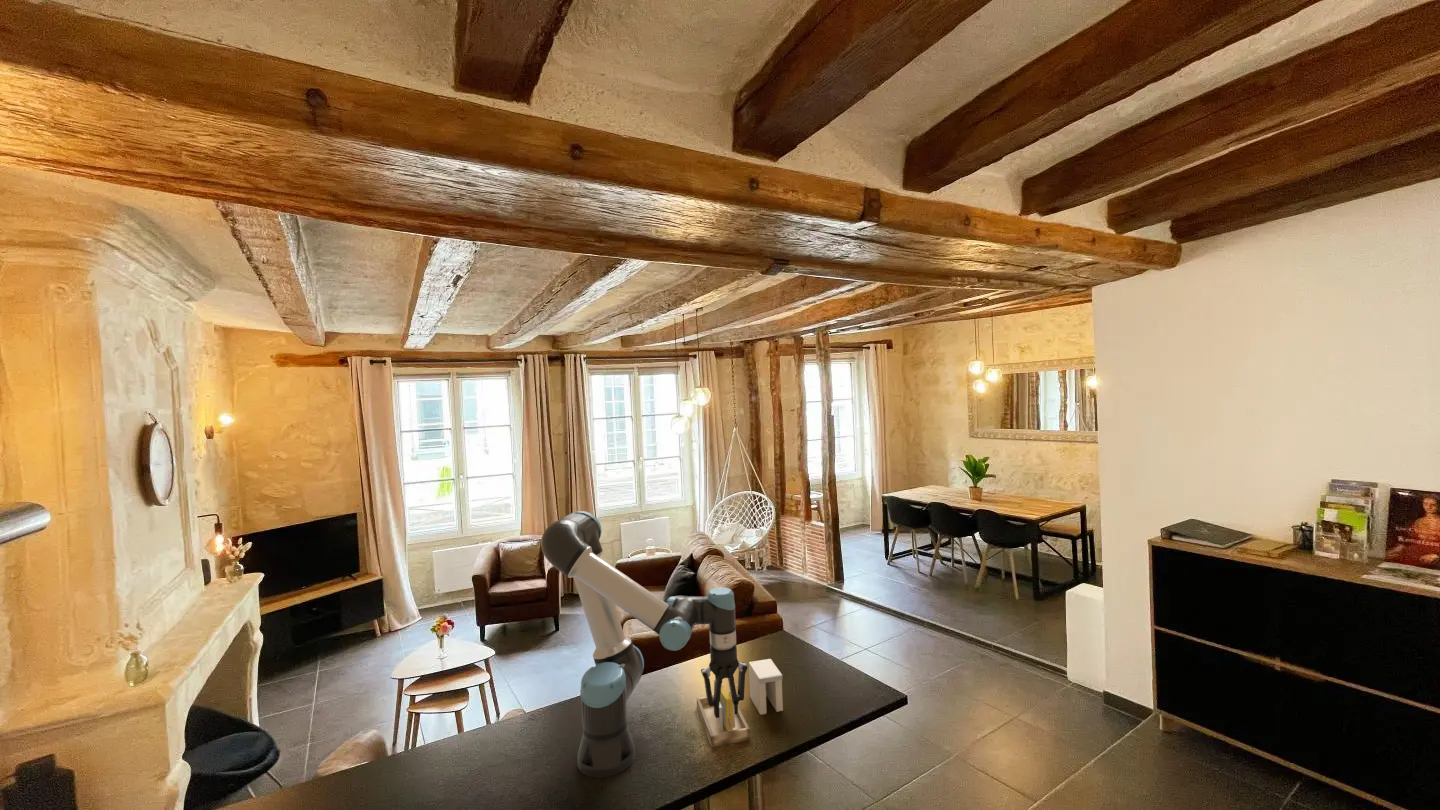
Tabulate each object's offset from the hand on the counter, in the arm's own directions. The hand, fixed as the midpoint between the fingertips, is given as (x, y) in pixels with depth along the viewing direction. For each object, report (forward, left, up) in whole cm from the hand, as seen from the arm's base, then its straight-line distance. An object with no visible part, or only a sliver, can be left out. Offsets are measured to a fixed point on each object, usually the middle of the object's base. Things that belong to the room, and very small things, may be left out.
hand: (726, 726), depth 158 cm
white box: (+15, +11, -2) cm, 19 cm away
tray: (0, +6, -2) cm, 6 cm away
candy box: (0, +4, 0) cm, 4 cm away
